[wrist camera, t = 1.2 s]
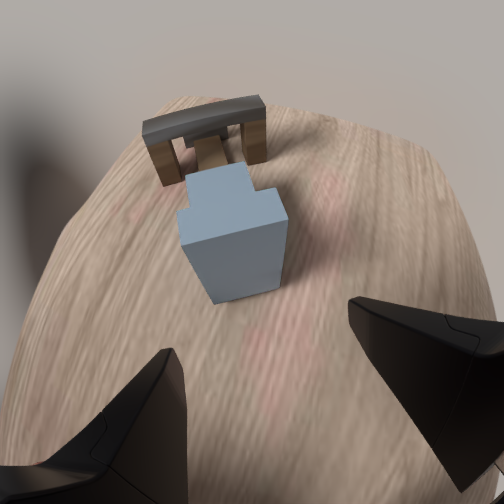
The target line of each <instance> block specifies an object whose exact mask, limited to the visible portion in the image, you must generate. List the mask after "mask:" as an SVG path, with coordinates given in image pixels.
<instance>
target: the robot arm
mask: <svg viewBox="0 0 504 504" xmlns="http://www.w3.org/2000/svg"><path fill="white" fill-rule="evenodd" d="M348 317H349V324H350V327H351V328H352V330H353V332H354V334H355V336H356V337H357V339H358V341H359V343H360V344H361V346H362V348H363V350H364V352H365V353H366V355H367V357H368V359H369V360H370V361H371V363H372V364H373V366H374V367H375V368H376V370H377V371H378V373H379V374H380V375H381V377H382V378H383V380H384V381H385V382H386V384H387V385H388V386H389V388H390V389H391V391H392V392H393V393H394V395H395V396H396V398H397V399H398V401H399V402H400V403H401V405H402V406H403V408H404V409H405V411H406V412H407V413H408V415H409V416H410V418H411V419H412V421H413V422H414V423H415V425H416V426H417V428H418V429H419V431H420V432H421V434H422V435H423V437H424V438H425V440H426V441H427V443H428V444H429V446H430V447H431V448H432V450H433V452H434V453H435V455H436V456H437V458H438V459H439V461H440V462H441V464H442V465H443V467H444V469H445V470H446V472H447V473H448V475H449V476H450V478H451V479H452V481H453V482H454V484H455V486H456V487H457V489H458V490H459V492H460V493H463V492H464V491H465V490H466V489H468V488H469V487H470V486H471V485H473V484H474V483H475V482H476V481H477V480H478V479H480V478H481V477H482V476H483V475H484V474H485V473H486V472H487V471H488V470H490V469H491V468H492V467H493V466H494V465H496V466H497V468H498V469H499V470H500V471H501V473H502V474H503V475H504V322H497V321H487V320H478V319H470V318H464V317H458V316H452V315H447V314H445V315H444V314H442V313H437V312H432V311H427V310H422V309H417V308H413V307H408V306H403V305H398V304H394V303H389V302H384V301H379V300H375V299H370V298H366V297H361V296H358V297H355V298H352V299H350V300H349V301H348ZM0 504H188V481H187V403H186V394H185V384H184V373H183V368H182V366H181V363H180V361H179V359H178V357H177V355H176V353H175V351H174V349H173V348H166V349H161V350H160V351H159V352H158V353H157V354H156V355H155V356H154V357H153V358H152V359H151V360H150V361H149V362H148V363H147V364H146V365H145V366H144V367H143V368H142V369H141V371H140V372H139V373H138V374H137V375H136V376H135V377H134V378H133V379H132V380H131V381H130V382H129V383H128V384H127V385H126V386H125V387H124V388H123V389H122V390H121V391H120V392H119V393H118V394H117V395H116V396H115V397H114V398H113V400H112V401H111V402H110V403H109V404H108V405H107V406H106V407H105V408H104V409H103V410H102V412H100V413H99V414H98V415H97V416H96V417H95V418H94V419H93V420H92V421H91V422H90V423H89V424H88V425H87V426H86V427H85V428H84V429H83V430H82V431H81V432H79V433H78V434H77V435H76V436H75V437H74V438H73V439H71V440H70V441H69V442H68V443H67V444H66V445H64V446H63V447H62V448H61V449H60V450H58V451H57V452H56V453H55V454H54V455H52V456H51V457H50V458H49V459H47V460H46V461H44V462H42V463H40V464H37V465H31V466H0ZM490 504H504V491H503V492H502V493H501V494H500V495H499V496H498V497H497V498H496V499H495V500H494V501H493V502H492V503H490Z"/></svg>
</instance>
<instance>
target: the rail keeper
mask: <svg viewBox="0 0 504 504" xmlns="http://www.w3.org/2000/svg"><path fill="white" fill-rule="evenodd" d="M235 124H240V130H241V141H242V151H243V154H244V157H245V160H246V162H247V165H253V164H258V163H263V162H266V106H265V104H264V103H263V101H262V100H261V98H260V96H259V95H253V96H246V97H240V98H235V99H229V100H224V101H219V102H214V103H209V104H205V105H200V106H196V107H192V108H188V109H184V110H180V111H176V112H173V113H169V114H165V115H162V116H158V117H155V118H152V119H149V120H145V121H143V128H142V137H143V139H144V142H145V144H146V147H147V149H148V152H149V154H150V157H151V159H152V161H153V164H154V166H155V168H156V171H157V173H158V175H159V178H160V180H161V182H162V185H163V187H164V186H167V185H171V184H174V183H178V182H182V180H181V172H180V165H179V162H178V159H177V156H176V153H175V150H174V147H173V144H172V141H171V140H172V139H176V138H179V137H183V139H184V142H185V146H186V148H190V147H195V153H196V158H197V163H198V169H199V172H200V171H204V170H208V169H212V168H216V167H220V166H225V165H228V162H227V159H226V156H225V153H224V149H223V146H222V143H221V140H223V139H228V131H227V126H230V125H235Z"/></svg>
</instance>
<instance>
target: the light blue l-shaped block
mask: <svg viewBox="0 0 504 504" xmlns="http://www.w3.org/2000/svg"><path fill="white" fill-rule="evenodd" d="M185 178H186V185H187V192H188V198H189V205H190V208H186V209H183V210H179V211H176V213H177V221H178V228H179V236H180V243H181V247H182V249H183V251H184V252H185V254H186V256H187V258H188V260H189V262H190V263H191V265H192V267H193V269H194V271H195V272H196V274H197V276H198V278H199V279H200V281H201V283H202V285H203V286H204V288H205V290H206V292H207V293H208V295H209V297H210V299H211V300H212V302H213V304H214V305H215V304H219V303H223V302H227V301H231V300H235V299H239V298H243V297H247V296H251V295H255V294H259V293H263V292H266V291H270V290H274V289H278V288H280V281H281V274H282V267H283V260H284V252H285V245H286V237H287V229H288V221H289V219H288V216H287V214H286V211H285V209H284V206H283V204H282V201H281V199H280V197H279V194H278V192H277V189H276V187H275V188H270V189H265V190H261V191H256V192H255V189H254V186H253V183H252V181H251V178H250V175H249V172H248V170H247V167H246V164H245V161H243V162H238V163H234V164H229V165H225V166H220V167H216V168H212V169H208V170H204V171H200V172H196V173H192V174H188V175H185Z"/></svg>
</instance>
